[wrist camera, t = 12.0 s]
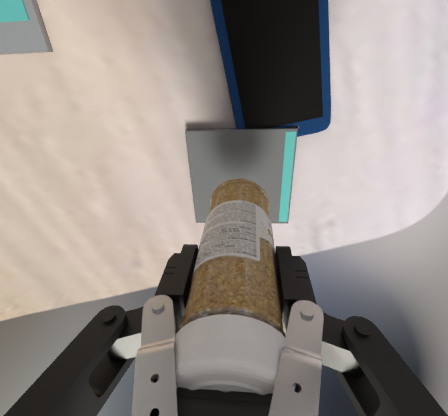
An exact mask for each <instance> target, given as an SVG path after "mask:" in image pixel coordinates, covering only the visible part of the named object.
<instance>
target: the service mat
mask: <svg viewBox="0 0 448 416" xmlns="http://www.w3.org/2000/svg"><path fill="white" fill-rule="evenodd" d="M297 131H298V128H273V129H237V128H230V129H188V130H186V131H185V134H186V142H187V151H188V159H189V167H190V176H191V184H192V192H193V201H194V209H195V217H196V223H206V219H207V217H208V215H209V211H210V200H211V196H212V194H213V192H214V190H215V189H216V188H217V187H218V186H219V185H220V184H221V183H223V182H225V181H227V180H231V179H240V178H244V179H247V180H251V181H252V182H255V183H256V184H258V185H259V186H261V187H262V189H263V190H264V191H265V192H266V194H267V197H268V200H269V219H270V221H271V223H288V219H289V209H290V200H291V190H292V180H293V170H294V160H295V150H296V141H297Z"/></svg>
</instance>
